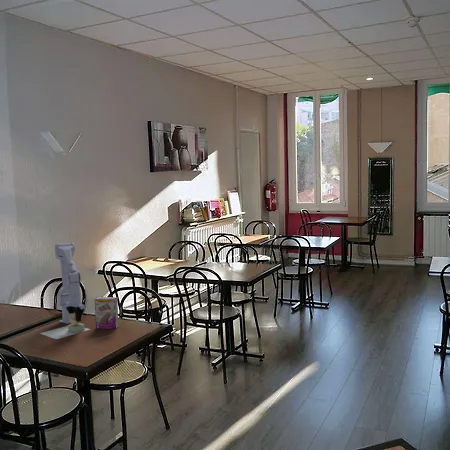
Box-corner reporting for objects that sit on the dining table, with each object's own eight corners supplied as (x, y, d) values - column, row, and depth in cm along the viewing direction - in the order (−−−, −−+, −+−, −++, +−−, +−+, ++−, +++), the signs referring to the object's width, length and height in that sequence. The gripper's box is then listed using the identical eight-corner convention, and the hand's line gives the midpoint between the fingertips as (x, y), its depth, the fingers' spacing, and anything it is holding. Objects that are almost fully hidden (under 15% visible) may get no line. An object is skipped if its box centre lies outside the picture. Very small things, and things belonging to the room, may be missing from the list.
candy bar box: (95, 329, 278) (93, 299, 276) (98, 326, 282) (97, 296, 281) (116, 329, 276) (114, 299, 275) (119, 326, 281) (117, 296, 280)
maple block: (77, 321, 278) (76, 311, 278) (82, 322, 275) (81, 313, 275) (69, 323, 275) (69, 313, 274) (74, 324, 272) (74, 315, 271)
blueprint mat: (73, 324, 287) (73, 324, 287) (90, 330, 277) (90, 329, 277) (39, 334, 272) (39, 333, 272) (56, 340, 262) (56, 339, 262)
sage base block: (78, 327, 280) (77, 322, 279) (84, 329, 276) (84, 324, 275) (68, 330, 275) (67, 325, 275) (74, 332, 271) (74, 327, 271)
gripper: (59, 294, 275) (61, 319, 277) (75, 298, 266) (77, 324, 267) (71, 292, 280) (73, 316, 282) (87, 295, 271) (89, 321, 272)
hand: (75, 320), depth 275 cm, fingers closed on maple block, 4 cm apart
